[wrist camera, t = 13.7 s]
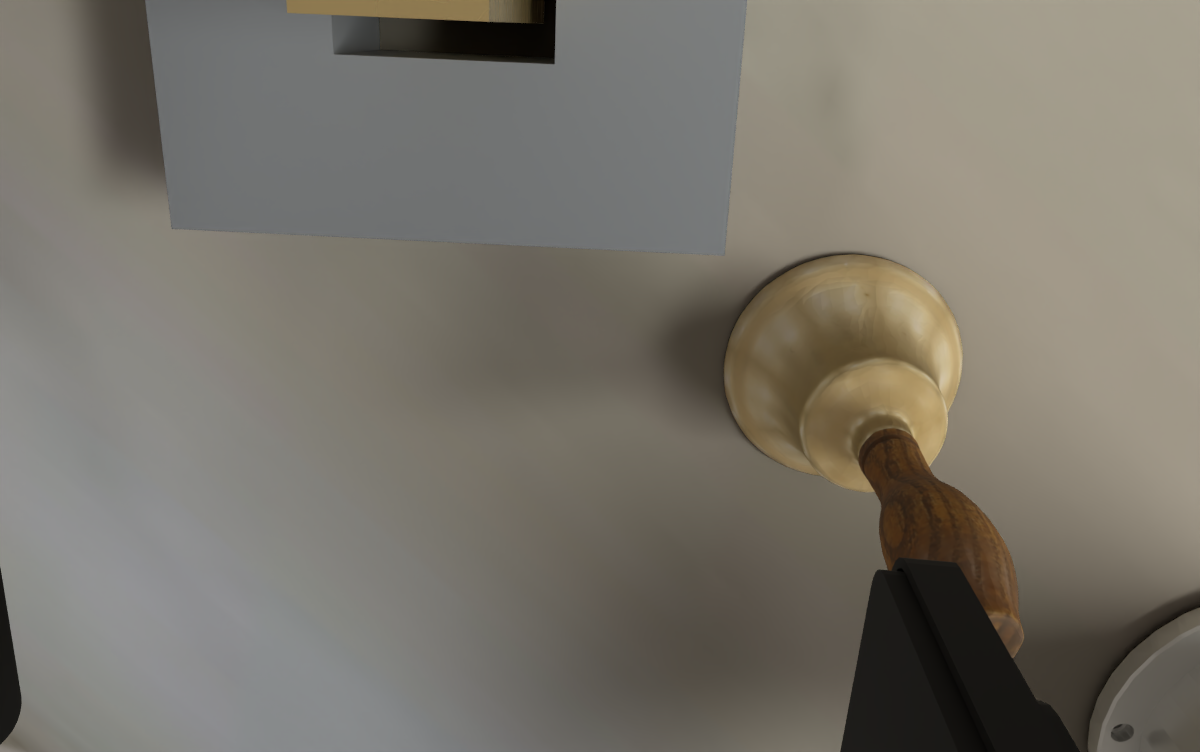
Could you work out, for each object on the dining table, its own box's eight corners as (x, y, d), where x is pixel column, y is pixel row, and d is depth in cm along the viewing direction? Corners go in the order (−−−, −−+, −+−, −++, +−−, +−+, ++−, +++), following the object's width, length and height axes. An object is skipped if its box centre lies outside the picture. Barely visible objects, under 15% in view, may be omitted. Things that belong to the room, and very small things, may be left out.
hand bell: (752, 496, 35) (837, 841, 20) (698, 289, 33) (750, 511, 18) (977, 443, 34) (1240, 766, 19) (939, 224, 32) (1211, 403, 17)
